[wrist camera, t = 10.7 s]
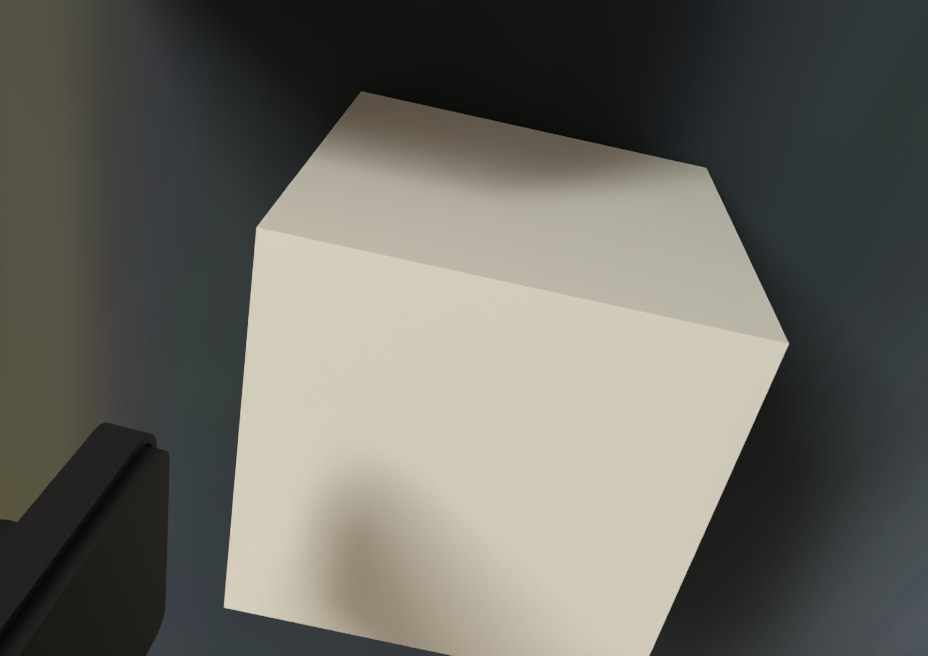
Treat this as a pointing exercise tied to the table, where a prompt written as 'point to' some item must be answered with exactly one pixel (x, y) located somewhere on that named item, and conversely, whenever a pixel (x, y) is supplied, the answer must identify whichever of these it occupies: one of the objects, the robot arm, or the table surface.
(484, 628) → the plain off-white cube
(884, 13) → the table surface
